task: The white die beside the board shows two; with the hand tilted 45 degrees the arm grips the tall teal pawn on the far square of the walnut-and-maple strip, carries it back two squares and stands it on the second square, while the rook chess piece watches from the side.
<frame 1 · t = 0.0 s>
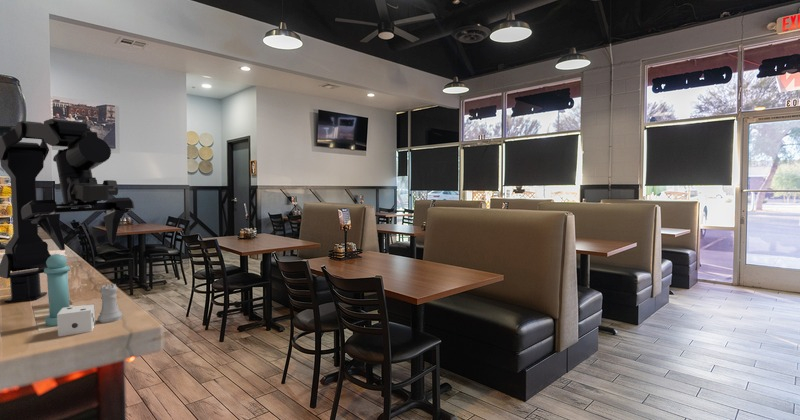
hand: (88, 247, 88), 15 cm above the counter, tool pointing down, fingers open, 9 cm apart
board: (56, 317, 91), on the counter
pawn: (60, 322, 84), point 1 cm above the counter, touching board
die: (77, 334, 80), on the counter
rook chess piece: (110, 324, 86), on the counter
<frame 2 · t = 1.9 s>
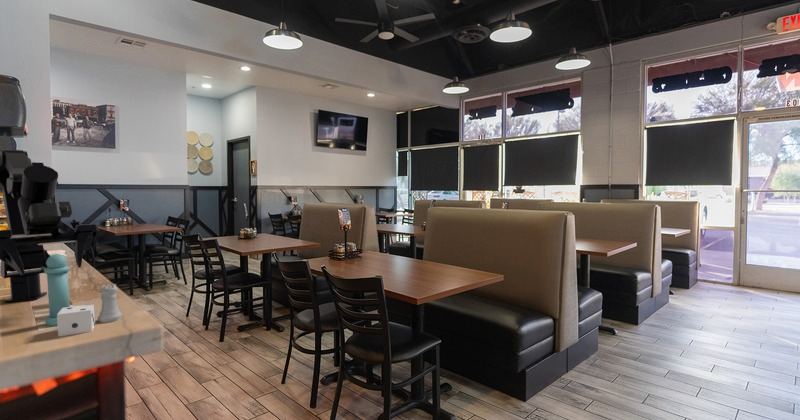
hand: (52, 269, 86), 11 cm above the counter, tool tilted 45°, fingers open, 9 cm apart
nothing on the counter moved.
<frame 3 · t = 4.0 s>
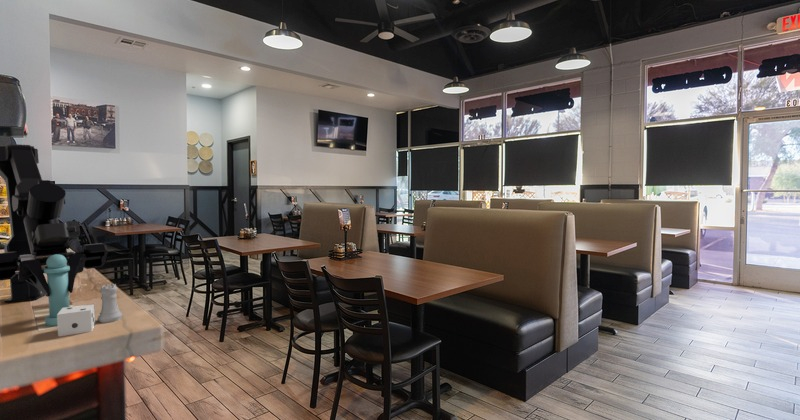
hand: (60, 293, 83), 7 cm above the counter, tool tilted 45°, fingers closed on pawn, 3 cm apart
pawn: (60, 322, 84), point 1 cm above the counter, touching board, gripper
everything else where it was.
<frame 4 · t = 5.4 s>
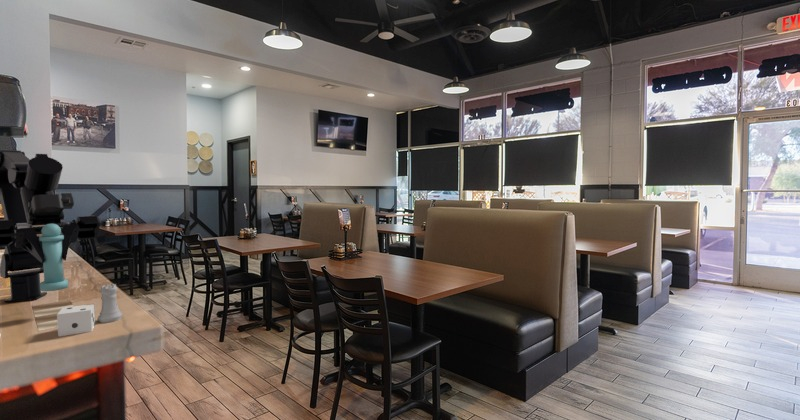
hand: (54, 260, 88), 13 cm above the counter, tool tilted 45°, fingers closed on pawn, 3 cm apart
pawn: (54, 288, 89), point 7 cm above the counter, touching gripper
everything else where it was.
when the fingers open (8 cm above the counter, at t = 7.3 s): pawn drops 1 cm, resting on board.
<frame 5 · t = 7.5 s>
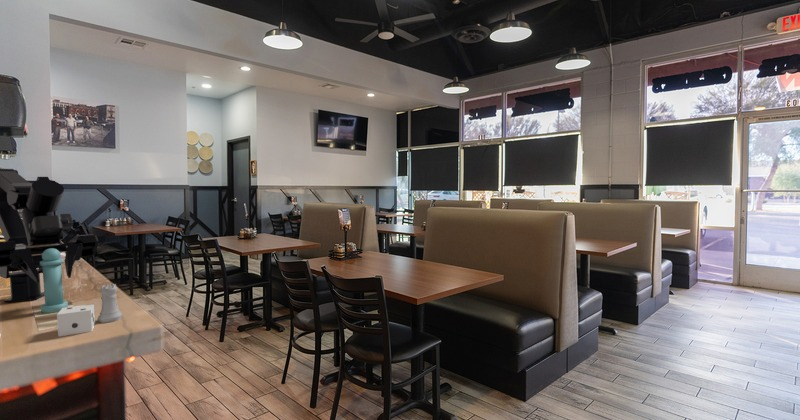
hand: (54, 278, 91), 8 cm above the counter, tool tilted 45°, fingers open, 5 cm apart
pawn: (54, 310, 93), point 1 cm above the counter, touching board
everything else where it was.
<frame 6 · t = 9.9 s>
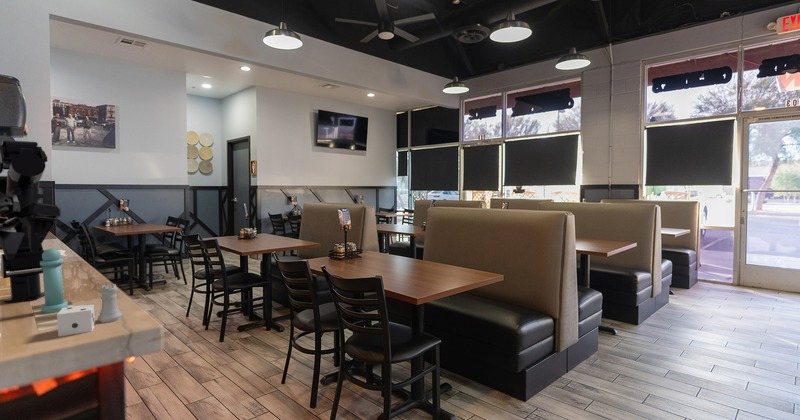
hand: (21, 255, 94), 13 cm above the counter, tool tilted 20°, fingers open, 9 cm apart
nothing on the counter moved.
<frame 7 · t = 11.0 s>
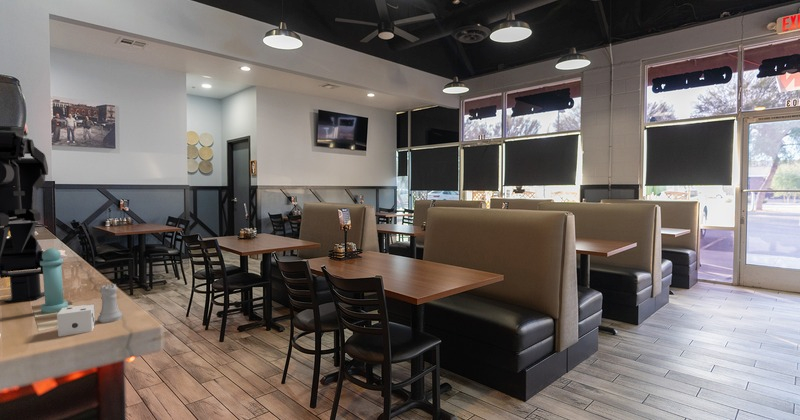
hand: (7, 256, 94), 13 cm above the counter, tool pointing down, fingers open, 9 cm apart
nothing on the counter moved.
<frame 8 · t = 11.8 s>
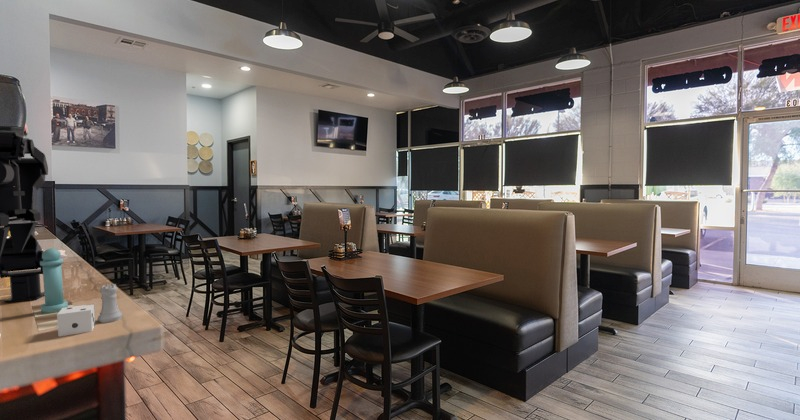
hand: (7, 256, 94), 13 cm above the counter, tool pointing down, fingers open, 9 cm apart
nothing on the counter moved.
at the end: pawn 0.0 cm from the target spot, point 0.8 cm above the counter; pawn tilted 0°; pawn moved 12.1 cm from its start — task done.
